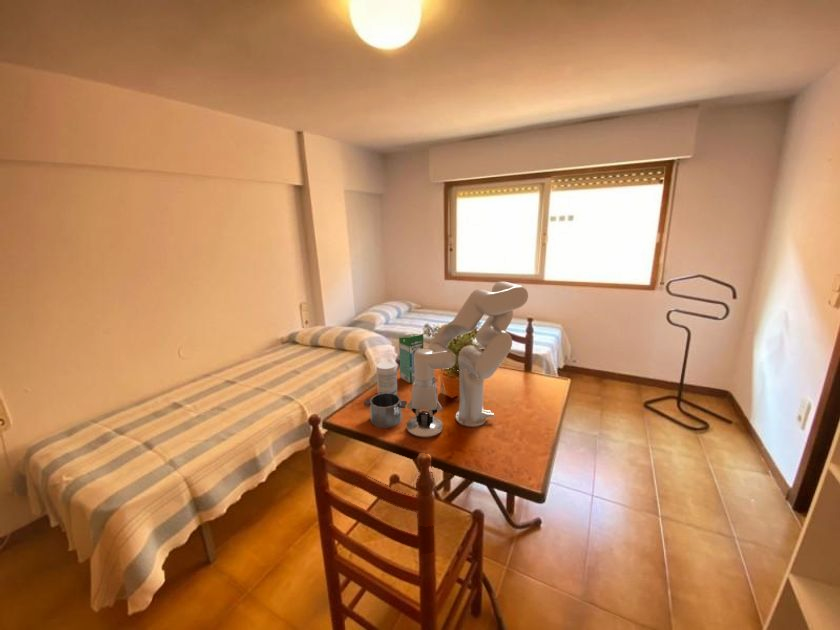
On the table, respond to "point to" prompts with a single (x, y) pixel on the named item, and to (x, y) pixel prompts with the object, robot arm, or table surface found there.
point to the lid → (424, 426)
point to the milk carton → (409, 354)
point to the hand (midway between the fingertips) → (424, 423)
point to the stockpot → (385, 409)
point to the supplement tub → (386, 377)
